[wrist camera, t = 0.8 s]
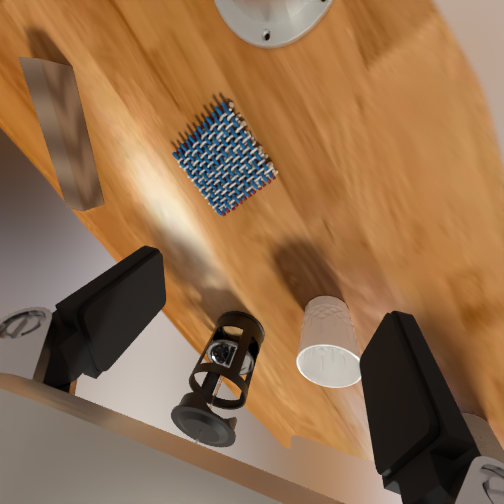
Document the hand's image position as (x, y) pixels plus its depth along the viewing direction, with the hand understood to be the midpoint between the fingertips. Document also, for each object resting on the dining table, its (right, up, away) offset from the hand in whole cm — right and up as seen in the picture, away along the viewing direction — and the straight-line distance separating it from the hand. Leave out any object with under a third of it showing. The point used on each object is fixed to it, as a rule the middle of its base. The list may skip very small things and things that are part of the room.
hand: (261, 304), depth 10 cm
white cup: (+12, -7, +27) cm, 31 cm away
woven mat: (-4, +14, +21) cm, 25 cm away
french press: (-3, -13, +35) cm, 37 cm away
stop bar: (-25, +18, +24) cm, 40 cm away
